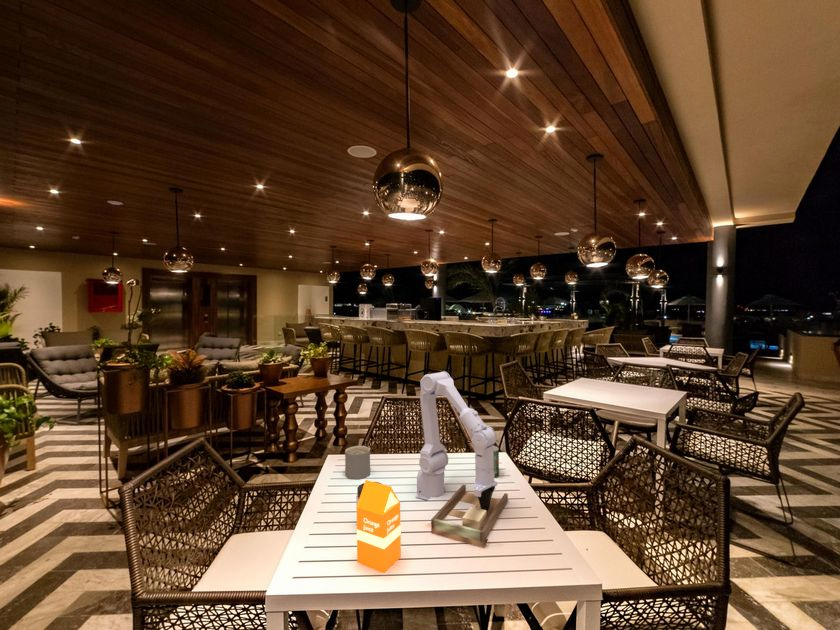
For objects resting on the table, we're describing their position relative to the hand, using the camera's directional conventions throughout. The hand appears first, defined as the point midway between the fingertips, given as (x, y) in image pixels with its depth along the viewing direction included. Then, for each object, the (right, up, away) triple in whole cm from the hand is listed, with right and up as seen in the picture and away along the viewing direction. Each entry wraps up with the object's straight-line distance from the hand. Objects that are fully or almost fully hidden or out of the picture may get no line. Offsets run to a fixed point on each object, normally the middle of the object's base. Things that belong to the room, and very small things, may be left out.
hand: (485, 509), depth 119 cm
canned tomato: (+7, -3, +32) cm, 33 cm away
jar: (-36, -3, -4) cm, 36 cm away
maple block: (-4, -1, -8) cm, 10 cm away
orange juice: (-31, -3, -20) cm, 37 cm away
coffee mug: (-45, -4, +36) cm, 57 cm away
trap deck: (-4, -2, -1) cm, 5 cm away
